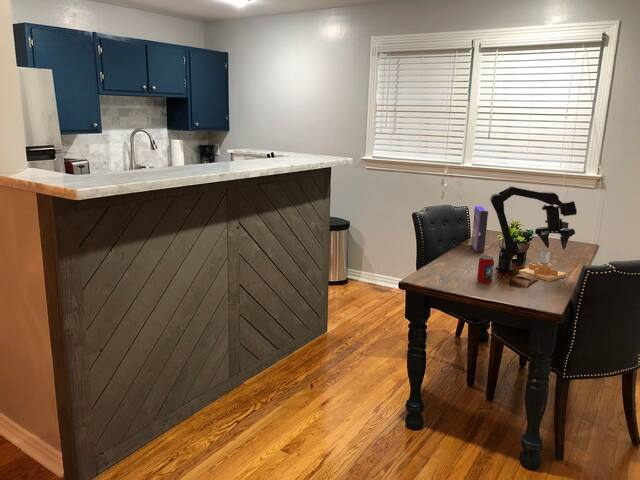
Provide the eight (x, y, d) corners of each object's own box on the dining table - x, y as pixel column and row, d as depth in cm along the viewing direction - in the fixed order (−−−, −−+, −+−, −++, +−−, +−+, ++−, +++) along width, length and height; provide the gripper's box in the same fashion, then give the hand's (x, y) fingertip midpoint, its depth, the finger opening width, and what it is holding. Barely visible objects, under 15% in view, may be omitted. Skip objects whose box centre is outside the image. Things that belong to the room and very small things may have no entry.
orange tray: (549, 281, 244) (550, 269, 242) (518, 273, 256) (520, 261, 255) (566, 276, 253) (568, 264, 252) (536, 268, 266) (537, 257, 264)
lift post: (544, 273, 252) (546, 253, 250) (537, 271, 255) (540, 251, 252) (547, 272, 254) (550, 252, 252) (541, 270, 257) (544, 251, 254)
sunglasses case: (527, 288, 231) (521, 274, 232) (513, 293, 236) (507, 279, 237) (539, 280, 245) (533, 267, 246) (525, 284, 250) (519, 271, 250)
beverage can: (489, 285, 235) (492, 260, 232) (475, 282, 238) (477, 257, 236) (493, 281, 241) (496, 256, 238) (479, 279, 244) (481, 254, 241)
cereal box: (471, 244, 315) (474, 205, 309) (479, 245, 314) (483, 206, 309) (475, 251, 298) (479, 210, 292) (484, 252, 297) (488, 211, 292)
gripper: (581, 214, 247) (583, 246, 250) (547, 213, 264) (550, 243, 266) (566, 219, 242) (568, 251, 245) (532, 218, 259) (535, 248, 261)
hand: (555, 248), depth 255 cm, fingers open, 9 cm apart
